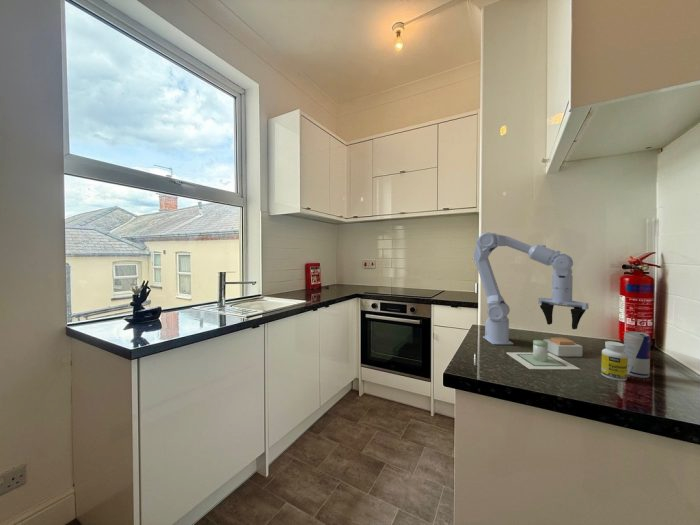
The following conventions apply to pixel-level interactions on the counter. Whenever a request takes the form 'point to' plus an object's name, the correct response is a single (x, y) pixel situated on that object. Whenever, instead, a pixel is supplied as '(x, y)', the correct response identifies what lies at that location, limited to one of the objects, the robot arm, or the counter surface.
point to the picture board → (551, 364)
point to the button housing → (564, 349)
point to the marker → (540, 350)
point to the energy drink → (637, 353)
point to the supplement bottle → (614, 361)
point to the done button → (562, 341)
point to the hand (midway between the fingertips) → (561, 326)
